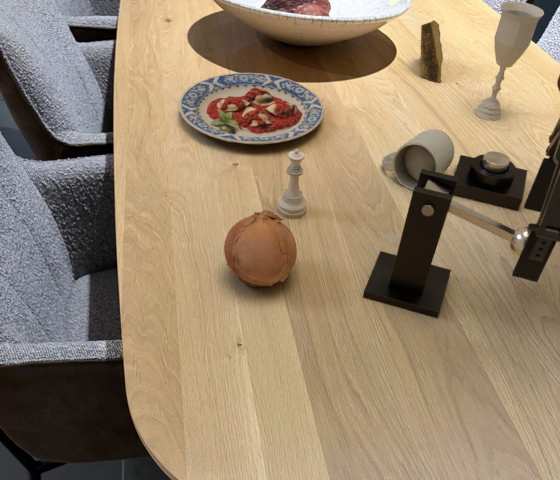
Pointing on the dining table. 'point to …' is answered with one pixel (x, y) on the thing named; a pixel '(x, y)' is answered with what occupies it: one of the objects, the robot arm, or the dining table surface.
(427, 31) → the rock
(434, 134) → the ceramic mug
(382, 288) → the lever bracket
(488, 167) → the push button
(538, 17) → the chalice
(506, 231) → the flush lever
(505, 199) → the push button base
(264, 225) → the onion
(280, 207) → the chess piece
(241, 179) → the dining table surface
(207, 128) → the ceramic plate
